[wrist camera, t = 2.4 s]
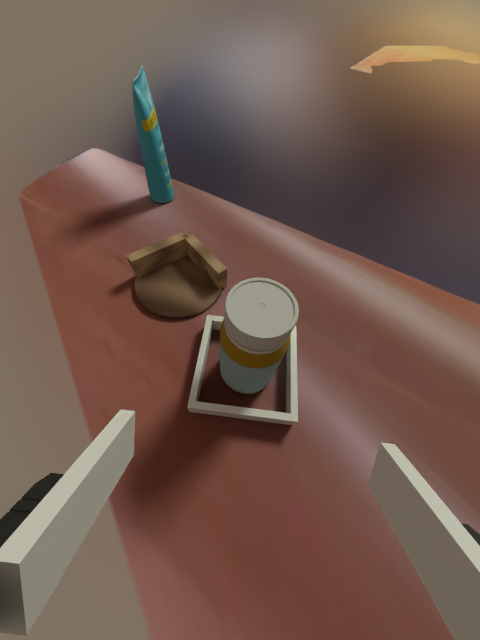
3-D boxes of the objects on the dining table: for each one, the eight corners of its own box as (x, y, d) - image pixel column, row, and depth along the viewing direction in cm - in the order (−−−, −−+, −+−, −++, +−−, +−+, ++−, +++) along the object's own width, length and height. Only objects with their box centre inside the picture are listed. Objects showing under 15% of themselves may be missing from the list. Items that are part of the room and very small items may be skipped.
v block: (219, 324, 36) (219, 308, 32) (118, 311, 36) (106, 293, 32) (231, 257, 43) (232, 237, 40) (148, 246, 43) (141, 225, 40)
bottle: (253, 406, 30) (278, 361, 17) (209, 374, 32) (202, 312, 19) (280, 364, 33) (318, 299, 20) (239, 337, 35) (250, 262, 22)
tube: (173, 207, 50) (151, 81, 34) (149, 207, 49) (115, 79, 33) (174, 187, 54) (154, 65, 38) (152, 187, 53) (122, 63, 37)
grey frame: (291, 334, 36) (296, 326, 34) (292, 425, 29) (298, 421, 27) (208, 323, 36) (207, 314, 34) (189, 411, 29) (187, 407, 27)
